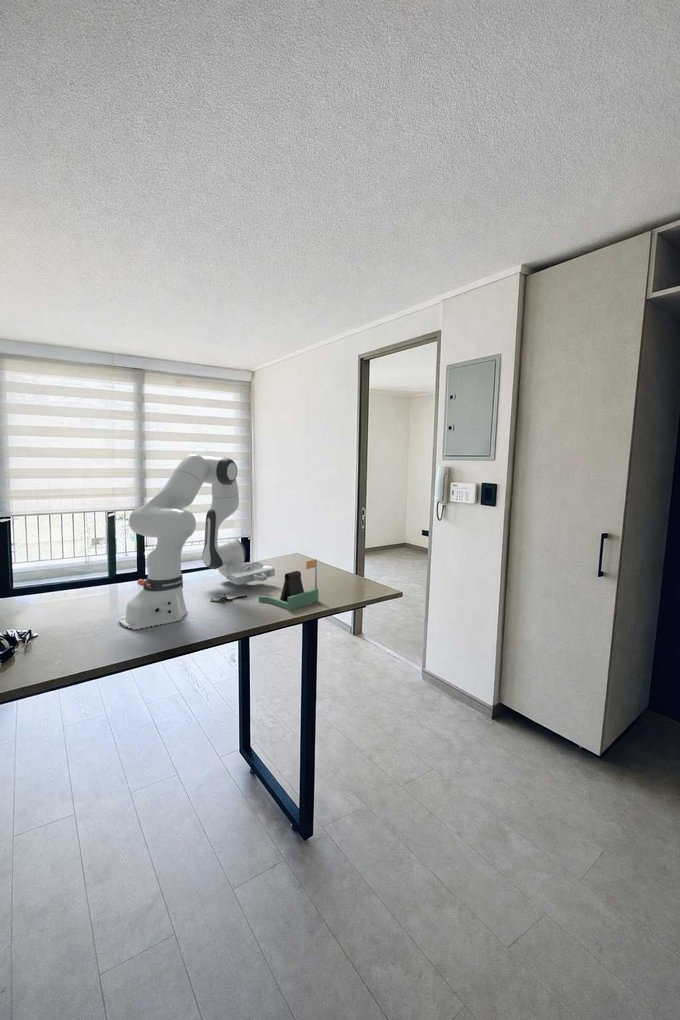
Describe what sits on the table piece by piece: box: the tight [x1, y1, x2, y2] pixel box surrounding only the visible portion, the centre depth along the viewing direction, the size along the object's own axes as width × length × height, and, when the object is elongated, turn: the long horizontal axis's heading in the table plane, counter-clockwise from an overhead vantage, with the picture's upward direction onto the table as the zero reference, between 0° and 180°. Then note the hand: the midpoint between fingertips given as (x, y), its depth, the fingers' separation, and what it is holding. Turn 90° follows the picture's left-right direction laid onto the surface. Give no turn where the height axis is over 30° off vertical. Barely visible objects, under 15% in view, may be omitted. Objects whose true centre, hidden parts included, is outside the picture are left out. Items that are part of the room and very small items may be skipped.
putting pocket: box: [258, 558, 319, 612], centre depth 175 cm, size 17×18×17 cm
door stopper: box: [279, 570, 305, 602], centre depth 175 cm, size 9×6×12 cm, turn 48°
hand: (264, 578), depth 186 cm, fingers closed
